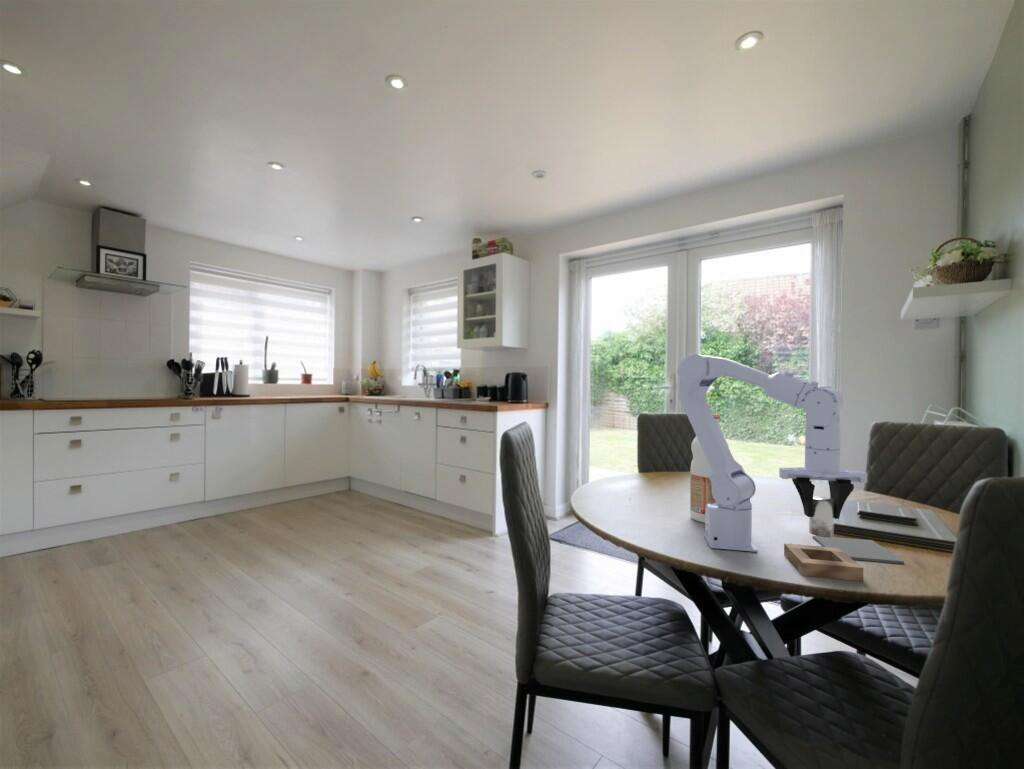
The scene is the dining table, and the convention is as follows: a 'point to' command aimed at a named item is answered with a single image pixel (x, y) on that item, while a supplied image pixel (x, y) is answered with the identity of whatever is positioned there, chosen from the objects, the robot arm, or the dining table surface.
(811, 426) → the robot arm
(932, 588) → the dining table surface
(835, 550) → the holder
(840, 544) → the mat
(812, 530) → the plug
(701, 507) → the fruit juice
